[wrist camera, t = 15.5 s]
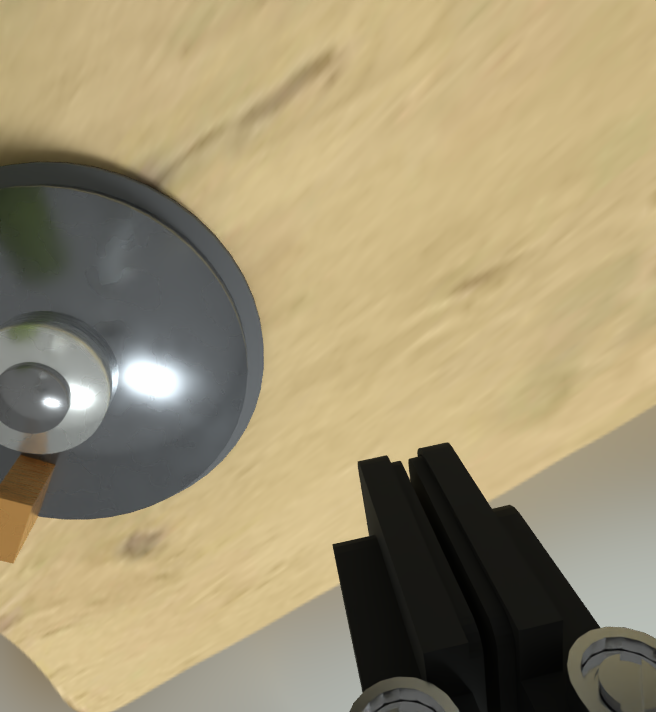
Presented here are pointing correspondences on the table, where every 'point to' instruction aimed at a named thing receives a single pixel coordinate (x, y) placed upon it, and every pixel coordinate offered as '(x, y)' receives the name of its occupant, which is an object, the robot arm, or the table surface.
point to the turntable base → (186, 226)
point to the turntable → (120, 353)
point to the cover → (52, 382)
